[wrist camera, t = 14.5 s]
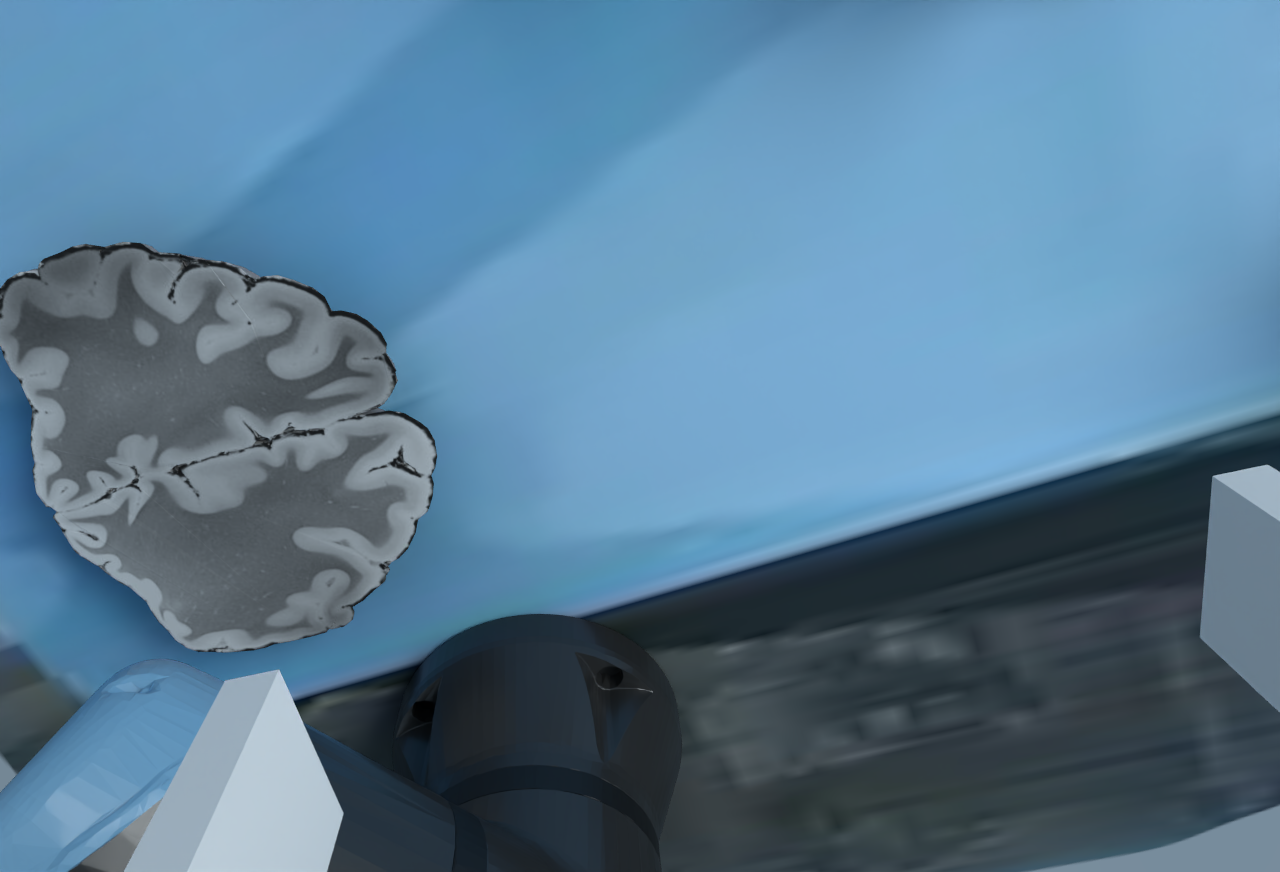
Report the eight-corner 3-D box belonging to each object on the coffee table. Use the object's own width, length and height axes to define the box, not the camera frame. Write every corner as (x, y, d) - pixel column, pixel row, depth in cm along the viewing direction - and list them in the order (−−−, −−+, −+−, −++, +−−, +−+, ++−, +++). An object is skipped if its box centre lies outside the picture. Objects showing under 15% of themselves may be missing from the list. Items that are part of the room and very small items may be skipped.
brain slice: (502, 548, 45) (497, 582, 42) (185, 641, 46) (161, 680, 43) (333, 157, 37) (313, 167, 34) (-46, 281, 38) (-95, 301, 35)
